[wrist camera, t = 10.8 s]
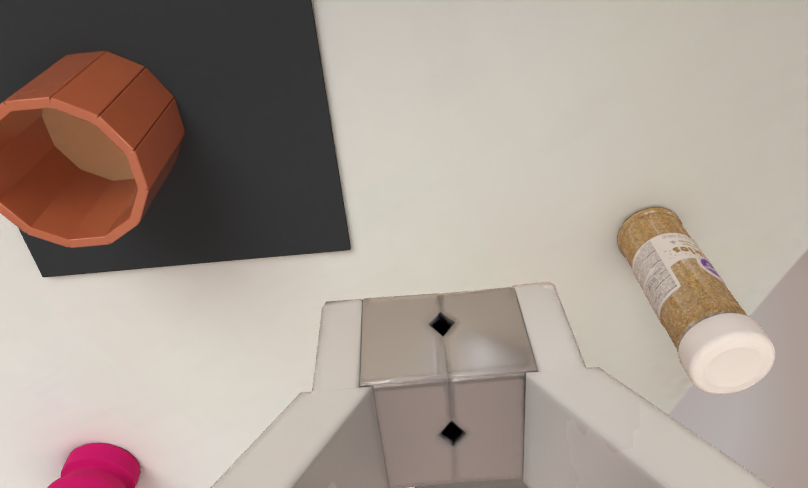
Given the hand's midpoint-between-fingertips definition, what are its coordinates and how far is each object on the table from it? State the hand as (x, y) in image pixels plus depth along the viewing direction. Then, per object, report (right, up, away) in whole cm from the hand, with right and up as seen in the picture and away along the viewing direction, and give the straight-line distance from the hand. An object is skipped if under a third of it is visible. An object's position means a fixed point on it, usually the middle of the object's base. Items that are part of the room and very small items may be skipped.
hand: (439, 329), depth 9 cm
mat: (-16, +9, +31) cm, 36 cm away
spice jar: (+17, +2, +37) cm, 40 cm away
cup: (-14, +7, +27) cm, 31 cm away
